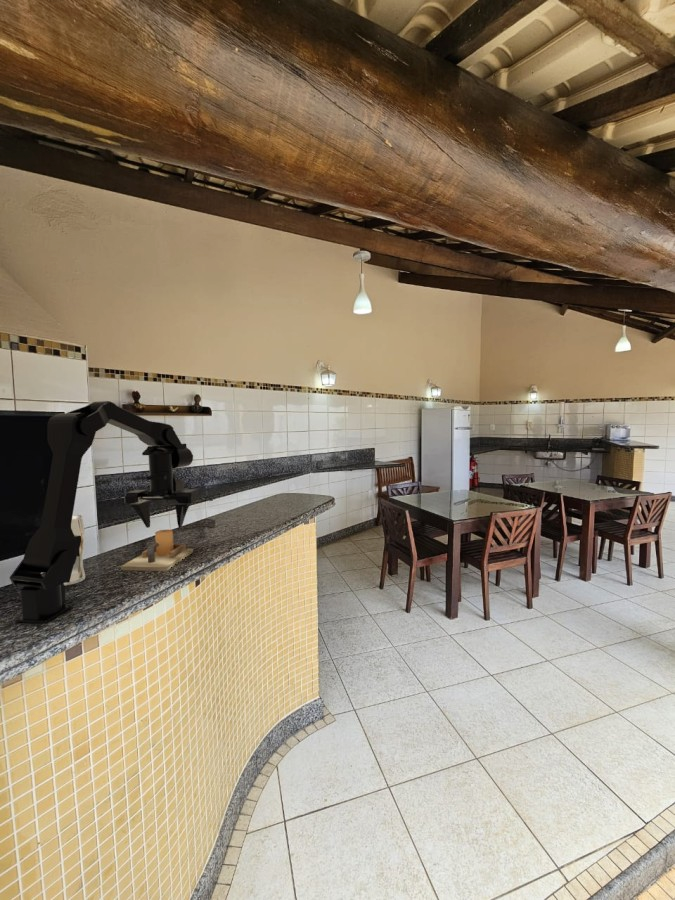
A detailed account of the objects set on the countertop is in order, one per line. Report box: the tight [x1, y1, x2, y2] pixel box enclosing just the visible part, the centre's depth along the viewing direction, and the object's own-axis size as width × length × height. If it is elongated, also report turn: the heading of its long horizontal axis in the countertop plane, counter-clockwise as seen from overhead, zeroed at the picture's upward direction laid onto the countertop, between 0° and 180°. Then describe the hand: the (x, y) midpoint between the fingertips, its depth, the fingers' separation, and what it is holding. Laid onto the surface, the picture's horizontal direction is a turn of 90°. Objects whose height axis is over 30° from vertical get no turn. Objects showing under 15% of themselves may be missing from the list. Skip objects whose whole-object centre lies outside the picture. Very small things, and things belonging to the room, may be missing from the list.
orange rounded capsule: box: [154, 529, 174, 556], centre depth 108 cm, size 4×4×6 cm
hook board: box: [120, 542, 194, 572], centre depth 105 cm, size 14×12×5 cm
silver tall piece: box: [63, 514, 86, 587], centre depth 92 cm, size 7×7×15 cm
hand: (164, 527), depth 108 cm, fingers open, 9 cm apart
